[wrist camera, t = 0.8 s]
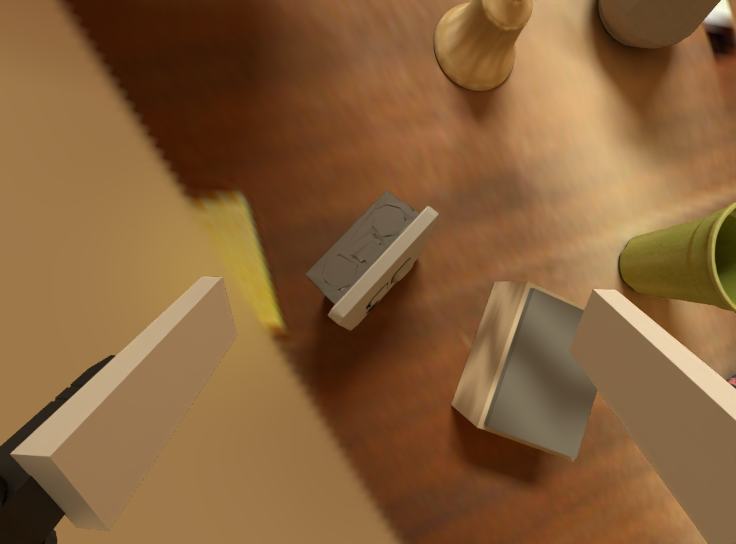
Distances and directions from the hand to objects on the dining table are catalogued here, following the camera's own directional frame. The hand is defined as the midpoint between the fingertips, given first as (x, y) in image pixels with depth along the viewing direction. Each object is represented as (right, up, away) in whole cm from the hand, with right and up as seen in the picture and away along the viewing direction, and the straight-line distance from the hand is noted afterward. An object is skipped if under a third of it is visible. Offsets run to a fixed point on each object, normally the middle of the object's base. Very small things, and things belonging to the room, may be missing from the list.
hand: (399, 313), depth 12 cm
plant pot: (+27, +2, +21) cm, 35 cm away
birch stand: (+13, -7, +18) cm, 23 cm away
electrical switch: (-2, +2, +16) cm, 16 cm away
